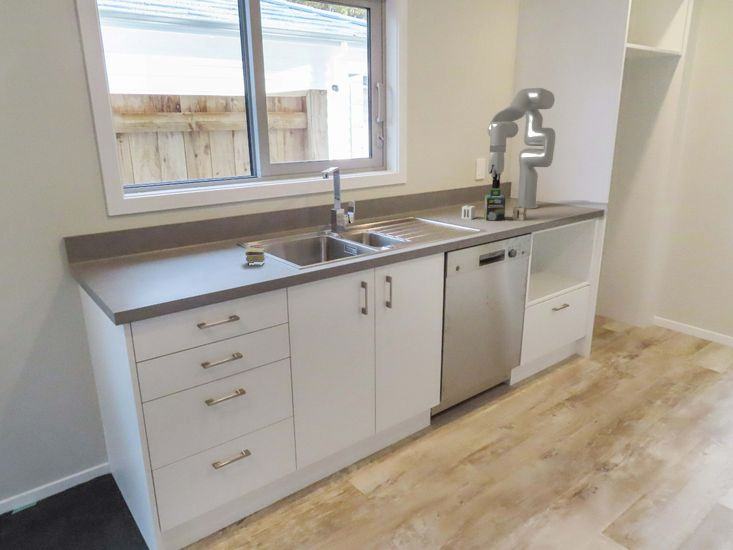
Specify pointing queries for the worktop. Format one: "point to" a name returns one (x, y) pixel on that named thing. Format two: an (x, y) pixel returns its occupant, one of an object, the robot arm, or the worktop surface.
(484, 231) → the worktop surface
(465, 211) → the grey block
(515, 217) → the birch block
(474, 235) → the worktop surface
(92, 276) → the worktop surface
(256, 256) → the stacked layers on plate
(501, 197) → the green boxy container
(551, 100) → the robot arm
